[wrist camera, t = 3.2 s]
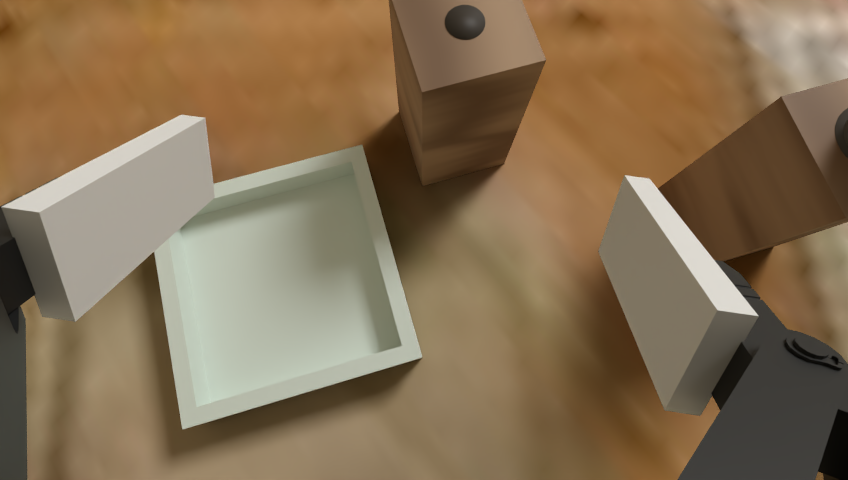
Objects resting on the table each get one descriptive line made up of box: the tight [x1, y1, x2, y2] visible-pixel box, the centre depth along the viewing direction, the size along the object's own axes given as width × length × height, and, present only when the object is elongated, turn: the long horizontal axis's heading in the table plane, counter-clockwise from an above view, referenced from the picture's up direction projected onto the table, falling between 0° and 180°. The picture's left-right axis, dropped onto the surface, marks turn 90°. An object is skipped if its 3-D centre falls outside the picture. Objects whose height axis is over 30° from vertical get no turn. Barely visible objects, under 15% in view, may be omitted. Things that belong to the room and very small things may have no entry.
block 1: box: [389, 0, 546, 186], centre depth 24 cm, size 5×5×10 cm
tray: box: [154, 145, 422, 429], centre depth 25 cm, size 12×12×2 cm
